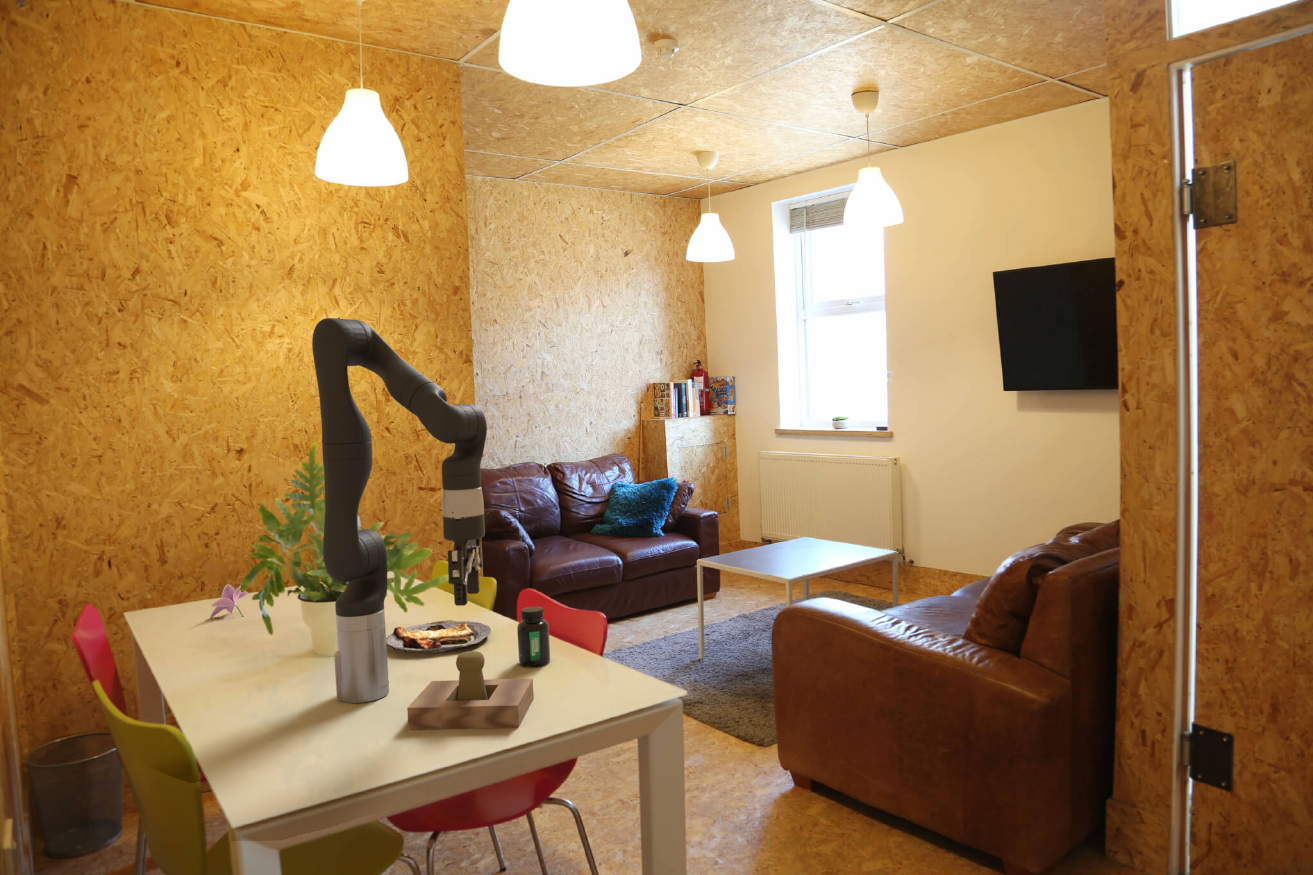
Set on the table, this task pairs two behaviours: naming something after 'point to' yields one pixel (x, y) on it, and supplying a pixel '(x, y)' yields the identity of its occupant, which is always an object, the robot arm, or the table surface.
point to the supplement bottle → (533, 638)
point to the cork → (471, 676)
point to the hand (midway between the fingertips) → (467, 599)
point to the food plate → (437, 636)
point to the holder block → (471, 706)
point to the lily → (228, 600)
